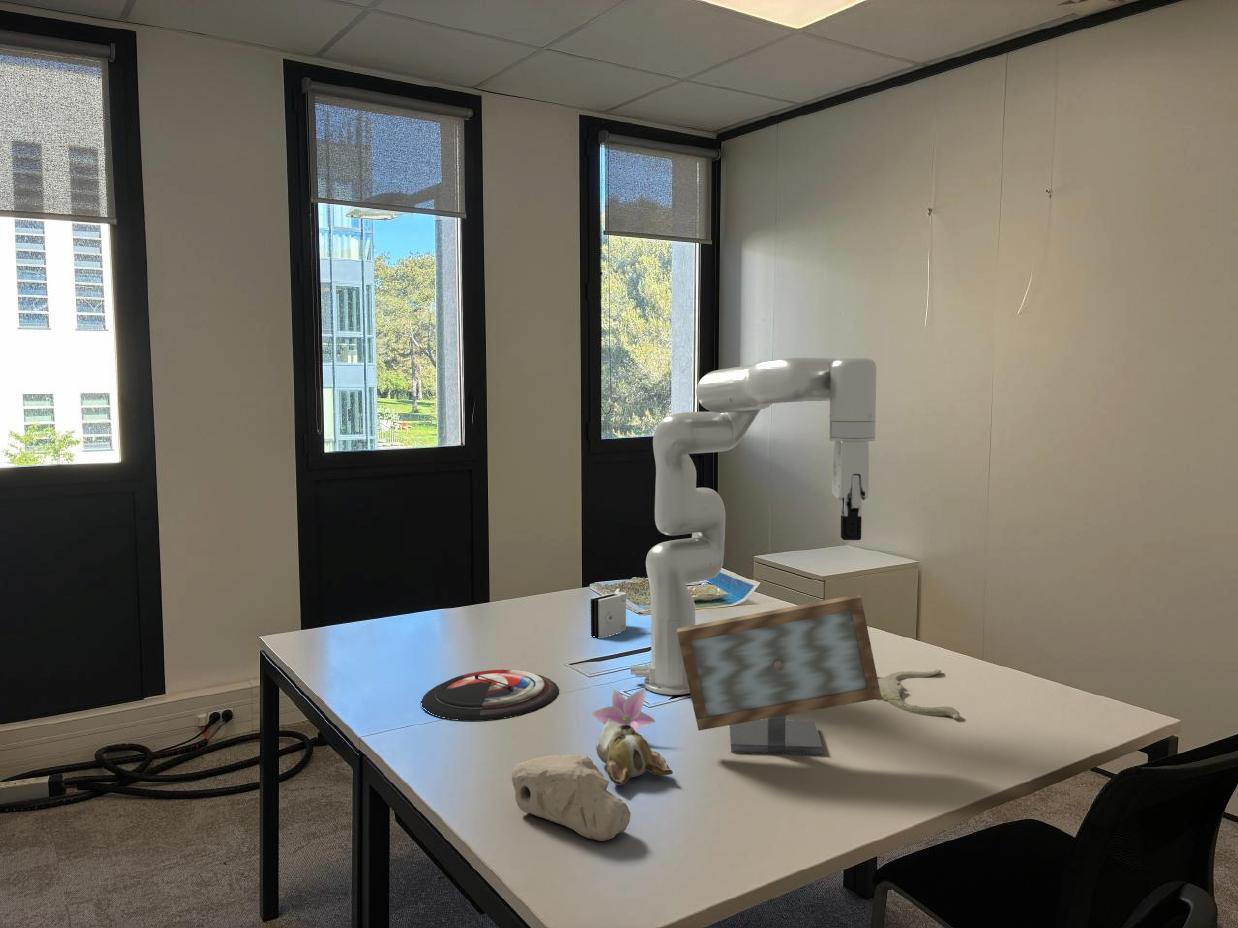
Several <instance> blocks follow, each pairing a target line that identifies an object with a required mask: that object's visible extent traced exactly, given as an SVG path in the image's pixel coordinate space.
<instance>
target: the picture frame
mask: <svg viewBox="0 0 1238 928" xmlns="http://www.w3.org/2000/svg"><path fill="white" fill-rule="evenodd" d="M866 619H867V618H866V615H865V609H864V604H863V600H862V596H861V595H860V593H857V594H852V595H847V596H846V595H845V596H842V597H841V596H840V597H836V598H830V599H825V600H820V601H815V602H809V603H805V604H798V605H794V606H788V607H783V608H777V609H772V610H768V611H762V612H756V613H752V614H746V615H741V616H736V617H729V618H726V619H724V618H723V619H720V620H716V621H710V622H703V623H698V624H695V625H693V626H688V627H682V628H677V635H678V639H679V644H680V648H681V653H682V658H683V662H684V667H685V671H686V676H687V680H688V685H689V690H690V693H689V694H690V698H691V703H692V708H693V712H694V717H695V721H696V726H697V730H698V731H699V732H700V731H705V730H711V729H716V728H721V727H726V726H730V725H733V724H739V723H745V722H750V721H756V720H768V718H773V717H779V716H784V715H785V716H789V715H790V716H791V715H793V714H795V715H796V714H799V713H800V714H801V713H806V712H813V711H817V710H822V709H829V708H835V707H839V706H847V705H852V704H856V703H862V702H868V701H873V700H875V699H880V698H881V693H880V688H879V683H878V678H877V677H878V675H877V669H876V663H875V660H874V654H873V650H872V643H871V639H870V636H869V630H868V624H867V620H866Z"/></svg>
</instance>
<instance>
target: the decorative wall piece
mask: <svg viewBox="0 0 1238 928" xmlns="http://www.w3.org/2000/svg"><path fill="white" fill-rule="evenodd" d="M941 673H942V670H941V669H934V670H933V671H913V670H912V671H896V672H892V673H890V674H888V675H886V676H883V677H882V676H877V678H878V683H879V688H880V693H881V698H880V699H875V700H876V701H883V702H886V703H889V704H890V705H893V706H894V707H895V708H898V709H901V710H902V711H905V712H908V713H913V714H917V715H923V716H930V717H943V716H945V717H946V716H948V717H951V718H953V719H955V720H959V719H960V718H961V715H960V712H959V711H958V710H957V709H955V708H954V707H951V706H931V707H930V706H929V707H926V706H917V705H912V704H909V703H908V702H906V701H904V700H903V699H902V697H901V692H902V690H903V685H902V684H901V681H900V680H903V679H908V678H909V679H910V678H928V677H933V676H936V675H937V676H938V675H940V674H941Z"/></svg>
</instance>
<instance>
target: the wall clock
mask: <svg viewBox="0 0 1238 928" xmlns="http://www.w3.org/2000/svg"><path fill="white" fill-rule="evenodd" d="M558 694H559V686H558V685H557V683H555V682H554V681H553V680H551V679H550V678H548V677H545V676H543V675H541V674H537V673H533V672H529V671H524V670H518V669H488V670H479V671H475V672H469V673H465V674H462V675H458V676H456V677H453V678H450V679H449V680H446V681H443V682H442V683H440V684H438V685H436V686H434V687H433V688H431V689H430V690H428V691H427V692H426V693H425V694H424V695H423V696H422V697H423V699H422V698H421V699H422V701H421V700H420V702H421V703H422V707H423V708H425V709H426V710H427V711H429V712H430V713H432V714H434V715H437V716H440V717H445V718H449V719H448V720H450V719H458V720H457V721H459V720H484V721H491V720H490V719H495V720H499V719H498V718H502V719H505V718H504V717H508V718H511V717H510V716H512V717H516V716H515V715H517V716H521V715H524V714H523V713H525V714H528V713H531V712H534V711H536V710H538V709H540V708H543V707H544V706H546V705H547V704H549V703H551V702H552V701H554V700H555V699H556V698H557V697H558ZM421 703H420V704H421ZM422 707H421V708H422ZM423 708H422V709H423ZM533 710H534V711H533ZM530 711H531V712H530ZM527 712H528V713H527ZM520 714H521V715H520ZM440 717H439V718H440Z"/></svg>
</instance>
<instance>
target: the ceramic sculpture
mask: <svg viewBox="0 0 1238 928" xmlns="http://www.w3.org/2000/svg"><path fill="white" fill-rule="evenodd" d="M595 748H596V753H597V756H598V758H599V759H600V761H601V762H602V763H604V764H605V766H604V767H605V769H606V770H605V771H606V772H607V773H606V774H607V775H608V779H610V781H611V782H612V783H614V784H615V785H617V786H624V785H625V784H626V783H627V782H628V780H630V779H632V778H636V777H639V776H642V775H643V774H644V773H645V772H646V770H648V771H649V772H650V773H651V774H653V775H654V776H670V775H672V774H673V773H674V772H673V770H672V769H670V767H669V764H668V763H667V760H666V759H665V757H663V756H662V755H661V754H660V753H659V752H657V751H653V750H651V747H650V746H649V743H648V740H646V739H645V738H644V736H642V734H640V733H639V734H638V733H636V732H635V730H634V728H633V727H631V726H630V725H622V724H620V723H618V722H616V721H613V720H612V719H610V718H609V719H608V720H607V723H606V724H604V725H603V728H602V730H601V732H600V734H599V735H598V740H597V743H596V745H595Z"/></svg>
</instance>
